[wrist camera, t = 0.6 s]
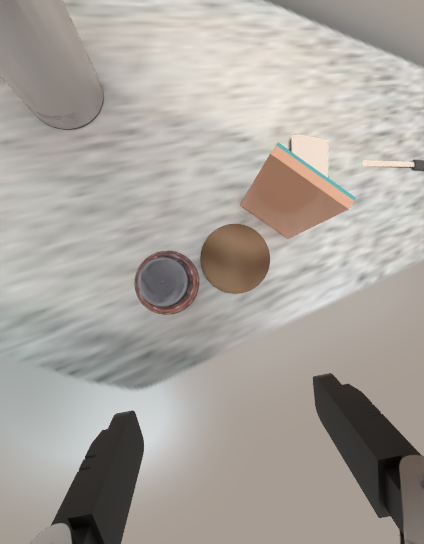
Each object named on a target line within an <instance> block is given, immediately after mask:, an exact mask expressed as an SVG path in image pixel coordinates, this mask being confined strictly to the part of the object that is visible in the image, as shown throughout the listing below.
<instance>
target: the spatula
mask: <svg viewBox="0 0 424 544" xmlns="http://www.w3.org/2000/svg"><path fill="white" fill-rule="evenodd" d="M291 152H292V153H294V154H295V155H297V156H298V157H299V158H301V159H302V160H304V161H305V162H306V163H308V164H309V165H311V166H312V167H313V168H315V169H316V170H318V171H319V172H320V173H322V174H323V175H325V176H326V177H327V178H328V152H329V140H324V139H319V138H314V137H309V136H304V135H299V134H295V135H293V136H291ZM363 166H371V167H412V169H415V170H424V161H423V160H413V161H412V162H400V161H372V160H363Z"/></svg>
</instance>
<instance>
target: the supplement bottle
mask: <svg viewBox="0 0 424 544" xmlns="http://www.w3.org/2000/svg"><path fill="white" fill-rule="evenodd" d="M198 288H199V276H198V273H197V270H196V268H195V266H194V265H193V263H192V262H191V261H190V260H189V259H188V258H187V257H185V256H184V255H182V254H180V253H177V252H173V251H162V252H158V253H155V254H153V255H151V256H149V257H148V258H147V259H145V260H144V261H143V262H142V264H141V265H140V267H139V268H138V270H137V273H136V276H135V291H136V294H137V296H138V298H139V300H140V301H141V303H142V304H143V305H144V306H145V307H146V308H148V309H149V310H151V311H153V312H155V313H159V314H175V313H178V312H180V311H182V310H184V309H185V308H187V307H188V306H189V305H190V304H191V303H192V302H193V300H194V299H195V297H196V295H197V292H198Z"/></svg>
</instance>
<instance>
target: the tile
mask: <svg viewBox="0 0 424 544" xmlns="http://www.w3.org/2000/svg"><path fill="white" fill-rule="evenodd" d="M354 200H355V197H354V196H353V195H351V194H350V193H348V192H347V191H346V190H344V189H343V188H341V187H340V186H339V185H337V184H336V183H334V182H333V181H332V180H330V179H329V178H327V177H326V176H325V175H323V174H322V173H320V172H319V171H318V170H316V169H315V168H313V167H312V166H311V165H309V164H308V163H306V162H305V161H304V160H302V159H301V158H299V157H298V156H297V155H295V154H294V153H292V152H291V151H290V150H288V149H287V148H285V147H284V146H283V145H281V144H280V143H277V145H276V146H275V148H274V149H273V150H272V152H271V153H270V155H269V157H268V158H267V160H266V162H265V164H264V165H263V167H262V169H261V170H260V172H259V174H258V175H257V177H256V179H255V180H254V182H253V184H252V185H251V187H250V189H249V191H248V192H247V194H246V196H245V197H244V199H243V201H242V202H241V204H240V206H242V207H243V208H245V209H246V210H247V211H249V212H250V213H252V214H253V215H255V216H256V217H257V218H259V219H260V220H262V221H263V222H265V223H266V224H268V225H269V226H270V227H272V228H273V229H275V230H276V231H278V232H279V233H280V234H282V235H283V236H285V237H286V238H288V239H289V238H291V237H293V236H295V235H297V234H299V233H301V232H303V231H305V230H307V229H309V228H311V227H313V226H315V225H317V224H319V223H322V222H324V221H326V220H328V219H330V218H332V217H334V216H336V215H338V214H340V213H342V212H344V211H346V210H348V209H349V208H350V206H351V205H352V203H353V202H354Z"/></svg>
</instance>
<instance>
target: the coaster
mask: <svg viewBox="0 0 424 544" xmlns="http://www.w3.org/2000/svg"><path fill="white" fill-rule="evenodd" d="M269 264H270V254H269V249H268V247H267V244H266V242H265V241H264V239H263V238H262V236H261V235H260V234H259V233H258V232H256V231H255V230H254V229H252V228H250V227H248V226H245V225H241V224H229V225H225V226H222V227H220V228H218V229H217V230H215V231H214V232H213V233H212V234H211V235H210V236H209V237H208V238H207V240H206V241H205V243H204V246H203V249H202V253H201V265H202V269H203V272H204V274H205V276H206V277H207V279H208V280H209V281H210V283H211V284H213V285H214V286H215V287H217V288H218V289H220V290H222V291H225V292H229V293H243V292H247V291H250V290H252V289H253V288H255V287H256V286H258V285H259V284H260V283H261V282H262V280H263V279H264V278H265V276H266V274H267V272H268V269H269Z"/></svg>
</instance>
